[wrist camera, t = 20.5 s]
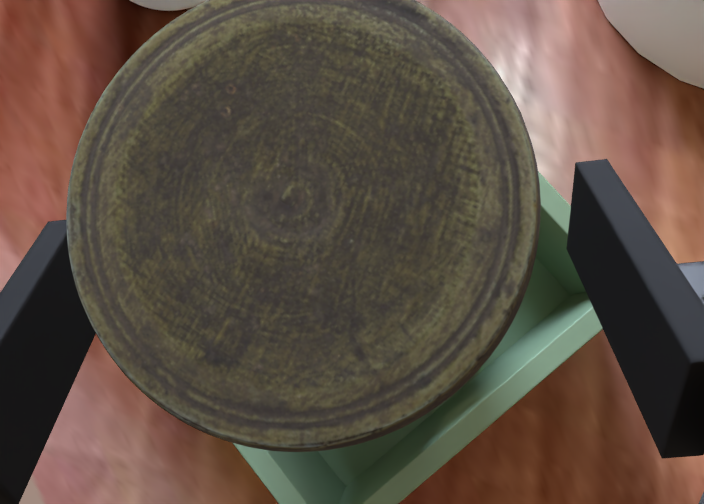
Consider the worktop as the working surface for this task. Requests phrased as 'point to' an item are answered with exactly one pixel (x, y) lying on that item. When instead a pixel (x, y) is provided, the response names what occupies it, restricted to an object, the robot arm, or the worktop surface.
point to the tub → (464, 405)
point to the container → (303, 218)
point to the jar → (168, 4)
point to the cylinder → (663, 33)
